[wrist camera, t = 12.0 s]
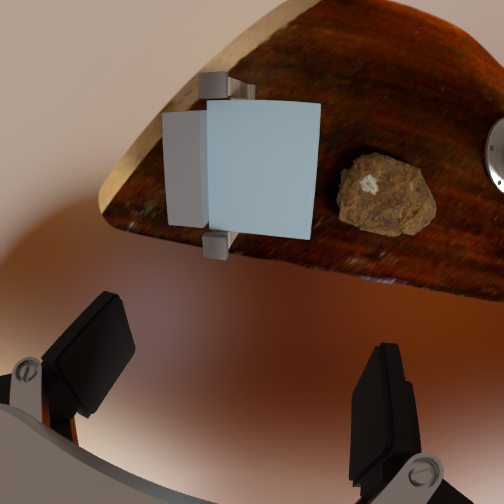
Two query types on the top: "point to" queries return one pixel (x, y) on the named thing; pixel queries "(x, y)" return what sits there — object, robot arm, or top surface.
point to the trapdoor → (243, 166)
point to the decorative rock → (385, 196)
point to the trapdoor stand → (236, 90)
